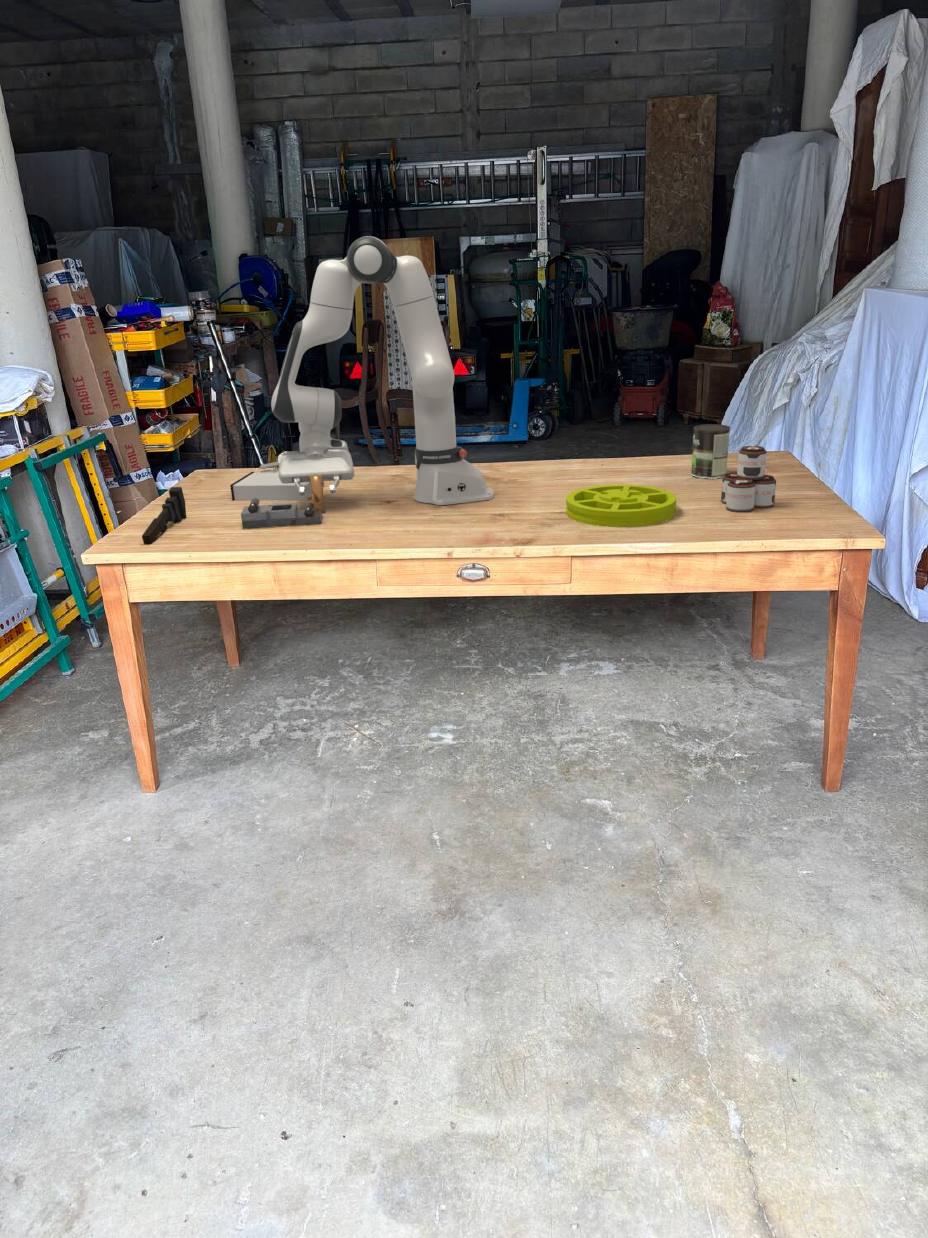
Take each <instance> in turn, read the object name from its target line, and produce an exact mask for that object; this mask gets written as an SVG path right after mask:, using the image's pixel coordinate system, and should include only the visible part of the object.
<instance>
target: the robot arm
mask: <svg viewBox="0 0 928 1238" xmlns="http://www.w3.org/2000/svg"><path fill="white" fill-rule="evenodd" d="M315 271H316V272H315V274H314V278H313V282H312V287H311V291H310V300H309V301H310V302H309V305H308V306H309V307H308V311H307V313H306V314H305V316H304V318H303V319H302V320H300V321H298V322H296V324H295V325H294V327H293V328H292V329H293V330H292V332H291V334H290V338H289V341H288V344H287V348H286V352H285V355H284V359H283V362H282V367H281V370H280V372H279V373H280V374H279V378H278V380H277V383H276V386H275V389H274V391H273V393H272V396H271V402H270V405H271V413H272V414H273V415H274V417H275V418H276V419H277V420H279V421H280V422H281V423H298V430H299V432H300V435H299V439H298V442H299V443H298V444H299V450H292V451H282V452H281V453H280V454H279V455H278V456H277V462H278V464H279V466H278V468H279V471H278V472H279V479H280V481H281V482H282V483H283V484H287V483H295V486H296V487H297V489H298V490H299V496H302V495H305V489H304V487H301V486H300V483H303V482H310V476H311V475H322V481H324V482H333V484H330V485H329V493H330V494H331V495H333V494H337V488H338V486H339V485H340V483H341V482H340V481H349V480H353V478H354V477H355V469H354V462H353V459H352V455H351V453H350V451H349V447H348V443H347V442H346V441H345V440H342V439H337V438H333V437H332V436H331V430H333V429H335V428H336V427H337V426H338V425H339V424H340V422H341V420H342V416H343V415H342V414H343V413H342V412H343V411H342V398H341V396H340V395H339V393H338V392H336V391H335V390H334V389H330V388H325V387H315V386H304V385H299V384H297V383H295V382H296V379H297V376H298V372H299V369H300V366H301V362H302V358H303V355H304V354H305V353H306V352H307V350H309V349H311V348H313V347H315V346H319V345H324V344H327V343H331V342H335V341H337V340H339V339H341V338H342V337H344V335H345V334H347V332H348V331H349V329H350V326H351V322H352V317H353V312H354V310H353V309H354V302H355V301H354V300H355V295H356V291H357V289H358V287H359V286H360V285H361V284H383V285H384V286H385V287H386V288H387V291H388V294H389V297H390V300H391V301H390V302H391V305H392V308H393V311H394V315H395V319H396V323H397V326H398V332H399V333H400V337H401V338H400V339H401V342H402V346H403V350H404V354H405V357H406V361H407V364H408V365H407V366H408V369H409V372H410V375H411V382H412V383H411V385H412V397H413V399H412V401H413V412H414V413H413V414H414V430H415V431H414V433H415V444H416V445H415V446H416V447H415V448H414V462H415V463H414V464H415V468H416V480H415V481H416V482H415V483H416V484H415V489H414V495H413V499H414V500H415V501H416V502H420V503H425V504H433V505H436V506H445V505H446V506H447V505H454V504H464V503H472V502H481V501H488V500H489V501H490V500H492V499H493V498H494V496H495V493H494V490H493V488H492V487H490V486H487V484H486V480H485V476H484V474H483V473H482V471H481V470H480V469H479V468H477V467H476V466H474V465H473V464H472V463H470V462H469V461H467V460H466V459H465V458H466V457H467V455H468V453H467V451H466V449H464V448H463V447H461V446H459V445H457V436H456V435H457V433H456V429H457V428H456V415H455V413H456V412H455V403H454V400H455V399H454V390H453V388H454V383H455V371H454V369H453V368H454V367H453V364H452V361H451V360H452V359H451V356H450V353H449V352H450V351H449V350H448V348H449V347H448V345H447V341H446V338H445V334H444V330H443V326H442V323H441V322H442V321H441V319H440V315H439V311H438V308H437V302H436V299H435V296H434V291H433V288H432V284H431V281H430V278H429V276H428V273H427V270H426V268H425V266H424V264H423V263H422V261H421V260H420V259H419V258H418V257H416V256H413V255H402V256H396V255H395V254H394V253H393V252H392V251H391V250H390V249H389V247H388V246H387V244H385V242H384V241H382V240H381V239H379V238H377V237H375V236H371V235H369V236H368V235H367V236H366V235H365V236H361V237H359V238H357V239H355V240H354V241H353V242H352V243H351V245H350V246H349V247H348V250H347V254H346V256H345V257H344V259H343V258H342V259H328V260H327V259H326V260H324V261H322V262H320V263H319V265H318V266H317V268H316V270H315Z"/></svg>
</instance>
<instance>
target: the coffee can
mask: <svg viewBox="0 0 928 1238" xmlns="http://www.w3.org/2000/svg"><path fill="white" fill-rule="evenodd" d="M730 431H731V426H728V425H726V424H716V423H714V424H713V423H706V424H699V425H698V424H697V425H695V426H693V436H692V455H691V456H692V457H691V470H690V471H691V473H690V475H691V474H692V475H693V476H695V477H699V478H698V479H700V478H710V479H709V480H714V479H713V478H720V479H723V477H724V475H725V474H726V473H728V472H727V471H728V457H729V443H730ZM693 476H692V477H693ZM695 477H694V478H695ZM711 478H712V479H711Z"/></svg>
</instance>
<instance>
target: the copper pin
mask: <svg viewBox="0 0 928 1238" xmlns="http://www.w3.org/2000/svg"><path fill="white" fill-rule="evenodd" d="M310 483H311V493H312V496H311V499H312V500H311V501H312V502H311V503H313V504H314V508H313V510H314V509H322V515H323V514H325V513H326V504H325V503H326V502H325V494H324V492H325V491H324V486H323V482H322V475H311V476H310Z"/></svg>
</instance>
